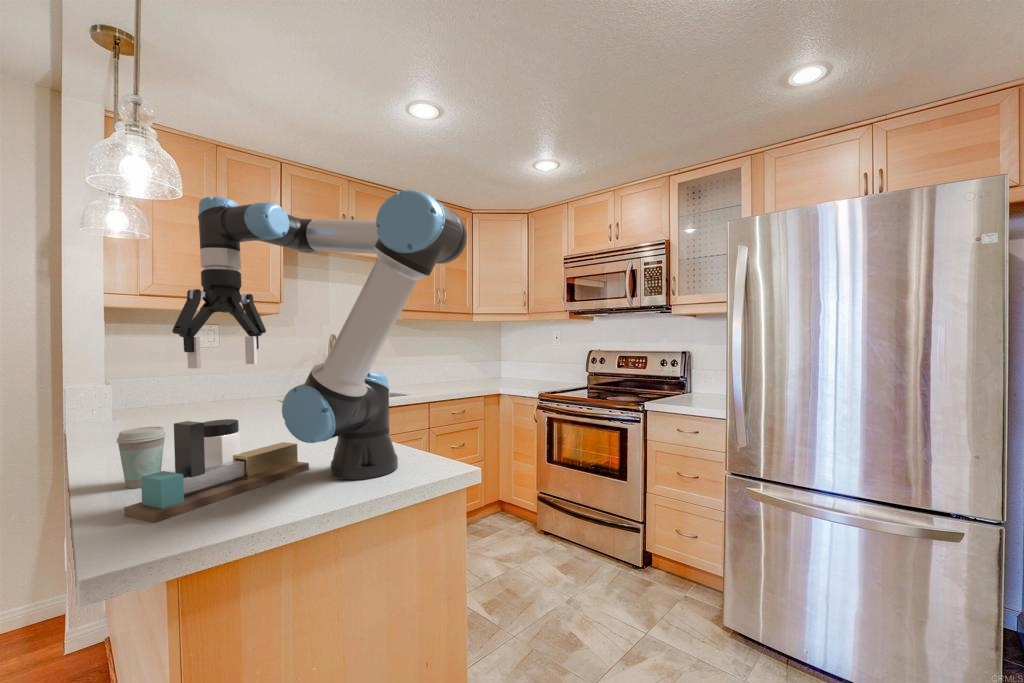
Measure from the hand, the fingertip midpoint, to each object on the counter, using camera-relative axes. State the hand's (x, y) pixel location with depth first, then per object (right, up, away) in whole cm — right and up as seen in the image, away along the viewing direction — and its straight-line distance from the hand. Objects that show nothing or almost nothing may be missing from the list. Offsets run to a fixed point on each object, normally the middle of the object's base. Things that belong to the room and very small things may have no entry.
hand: (224, 366), depth 100 cm
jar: (-5, -26, +7) cm, 27 cm away
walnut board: (+4, -26, -5) cm, 27 cm away
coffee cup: (-17, -26, -1) cm, 32 cm away
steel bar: (+3, -23, -9) cm, 25 cm away
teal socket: (-1, -24, -17) cm, 30 cm away
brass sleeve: (+8, -24, +3) cm, 25 cm away
